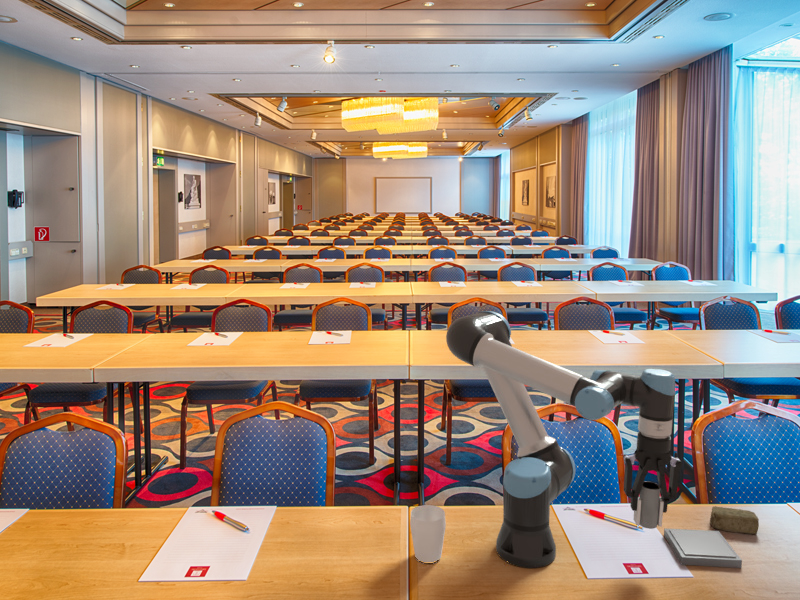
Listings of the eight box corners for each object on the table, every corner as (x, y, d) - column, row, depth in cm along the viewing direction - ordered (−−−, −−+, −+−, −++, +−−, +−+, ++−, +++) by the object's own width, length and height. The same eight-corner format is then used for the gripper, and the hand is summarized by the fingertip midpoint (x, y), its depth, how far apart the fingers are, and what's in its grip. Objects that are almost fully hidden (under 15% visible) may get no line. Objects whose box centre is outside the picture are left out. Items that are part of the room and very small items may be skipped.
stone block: (759, 536, 161) (760, 519, 160) (712, 530, 164) (713, 513, 164) (753, 526, 166) (754, 509, 166) (708, 520, 170) (708, 504, 169)
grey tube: (634, 519, 150) (637, 480, 149) (653, 519, 150) (656, 481, 149) (641, 528, 146) (644, 489, 144) (660, 529, 146) (663, 489, 144)
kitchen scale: (681, 564, 148) (682, 556, 148) (663, 535, 162) (664, 527, 162) (741, 567, 146) (742, 559, 146) (718, 538, 160) (718, 529, 160)
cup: (450, 552, 155) (450, 508, 153) (438, 570, 147) (438, 524, 145) (418, 544, 159) (418, 502, 157) (404, 562, 151) (404, 517, 149)
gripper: (620, 437, 142) (614, 528, 145) (698, 441, 140) (689, 533, 143) (613, 425, 149) (607, 512, 153) (686, 429, 147) (679, 517, 151)
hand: (647, 522), depth 148 cm, fingers closed on grey tube, 4 cm apart
